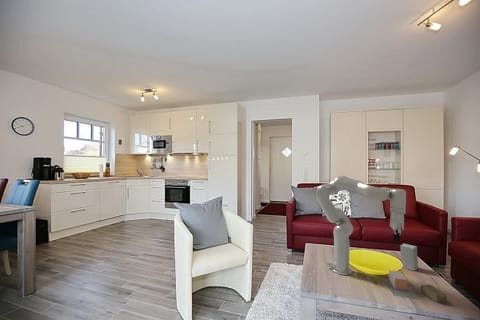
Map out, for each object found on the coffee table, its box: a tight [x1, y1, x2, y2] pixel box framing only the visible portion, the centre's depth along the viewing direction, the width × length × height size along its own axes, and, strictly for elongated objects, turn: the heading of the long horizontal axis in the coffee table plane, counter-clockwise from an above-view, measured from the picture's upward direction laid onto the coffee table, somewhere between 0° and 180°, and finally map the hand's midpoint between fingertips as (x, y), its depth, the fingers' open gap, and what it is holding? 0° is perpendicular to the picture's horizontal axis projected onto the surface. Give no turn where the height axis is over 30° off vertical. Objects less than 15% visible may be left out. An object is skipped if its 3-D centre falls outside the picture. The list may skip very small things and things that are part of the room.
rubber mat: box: [382, 278, 419, 300], centre depth 136 cm, size 12×20×1 cm, turn 163°
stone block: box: [420, 284, 448, 304], centre depth 128 cm, size 6×12×5 cm, turn 1°
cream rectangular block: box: [388, 269, 408, 291], centre depth 140 cm, size 6×6×11 cm
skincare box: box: [400, 243, 419, 272], centre depth 164 cm, size 8×7×16 cm
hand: (396, 240), depth 138 cm, fingers closed
